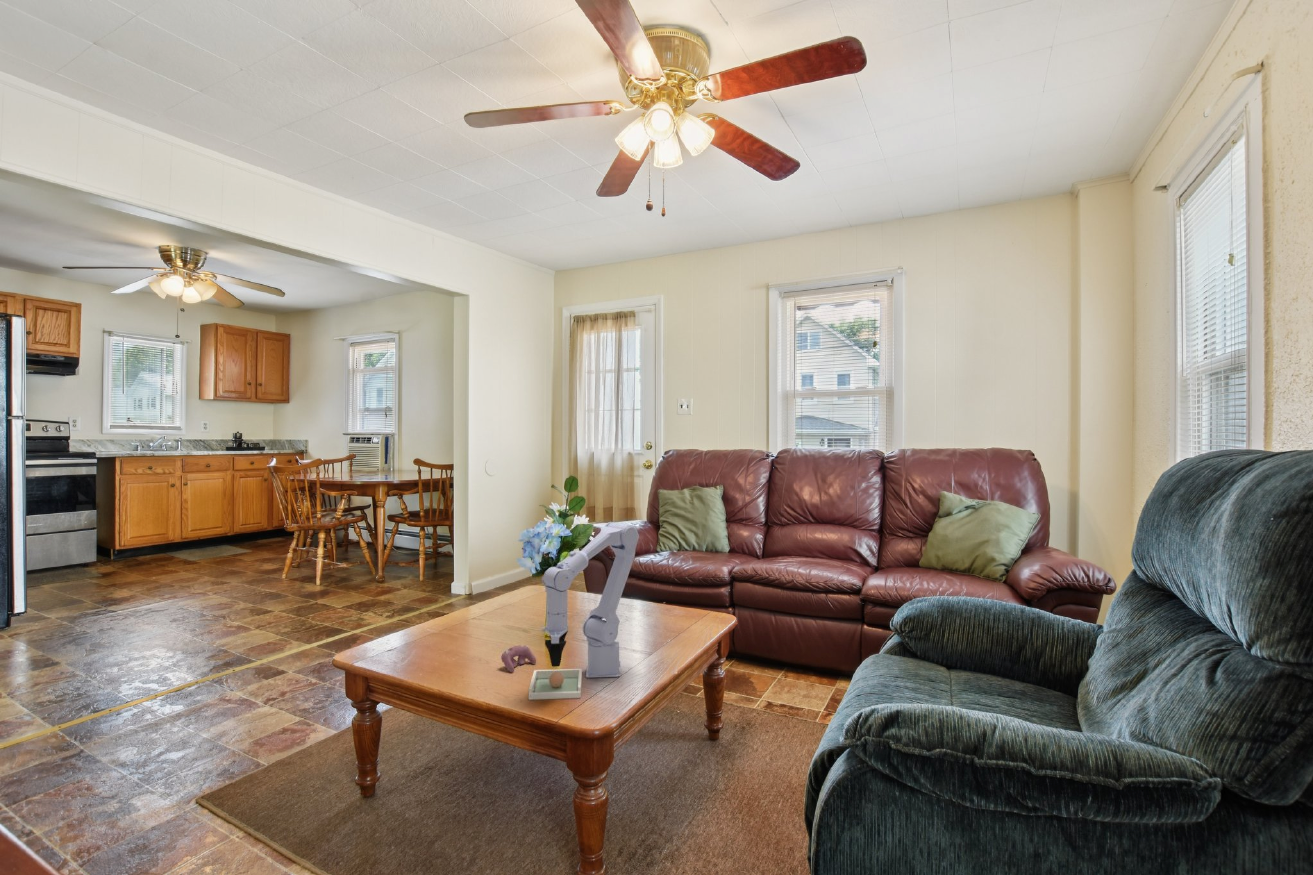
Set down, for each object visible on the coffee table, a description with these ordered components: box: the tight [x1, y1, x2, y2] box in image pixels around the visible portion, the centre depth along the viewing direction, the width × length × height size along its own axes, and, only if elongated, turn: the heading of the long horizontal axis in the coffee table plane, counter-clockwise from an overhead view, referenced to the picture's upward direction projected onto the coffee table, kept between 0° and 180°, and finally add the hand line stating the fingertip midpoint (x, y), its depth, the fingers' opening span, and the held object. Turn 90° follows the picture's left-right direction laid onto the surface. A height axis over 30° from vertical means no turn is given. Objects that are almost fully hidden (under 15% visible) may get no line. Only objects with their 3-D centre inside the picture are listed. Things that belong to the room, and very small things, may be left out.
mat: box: [533, 678, 578, 693], centre depth 168 cm, size 11×11×1 cm
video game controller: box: [500, 644, 537, 674], centre depth 183 cm, size 10×5×7 cm, turn 141°
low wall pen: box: [528, 668, 583, 701], centre depth 168 cm, size 14×14×2 cm
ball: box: [549, 672, 564, 688], centre depth 168 cm, size 4×4×4 cm
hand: (556, 660), depth 168 cm, fingers open, 7 cm apart
